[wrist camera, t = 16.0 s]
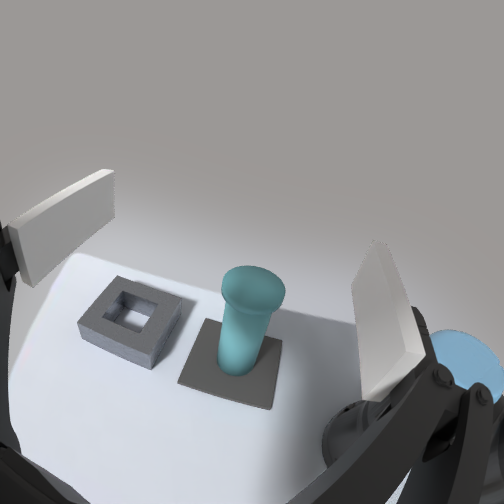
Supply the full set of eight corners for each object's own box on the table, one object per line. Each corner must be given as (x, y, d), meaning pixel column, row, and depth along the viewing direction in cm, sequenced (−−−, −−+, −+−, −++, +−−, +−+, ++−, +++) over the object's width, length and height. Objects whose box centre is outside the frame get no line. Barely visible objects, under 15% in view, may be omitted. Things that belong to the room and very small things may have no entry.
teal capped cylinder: (262, 348, 46) (287, 274, 37) (255, 385, 40) (282, 314, 31) (218, 336, 46) (230, 259, 38) (205, 373, 40) (214, 297, 31)
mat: (281, 342, 49) (282, 340, 49) (269, 410, 37) (270, 408, 37) (205, 320, 50) (205, 318, 49) (177, 383, 38) (177, 381, 38)
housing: (180, 314, 49) (181, 298, 47) (150, 370, 38) (149, 355, 36) (119, 291, 50) (117, 275, 48) (82, 338, 39) (76, 322, 37)
